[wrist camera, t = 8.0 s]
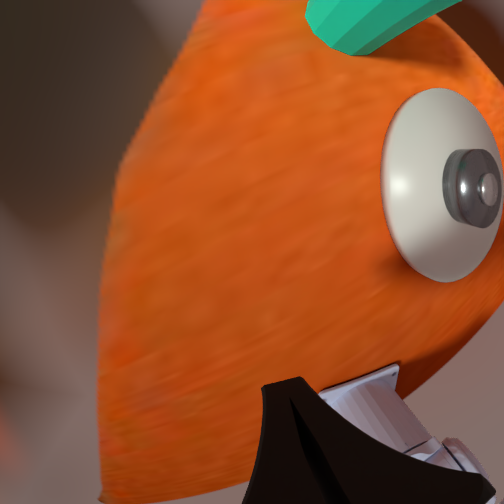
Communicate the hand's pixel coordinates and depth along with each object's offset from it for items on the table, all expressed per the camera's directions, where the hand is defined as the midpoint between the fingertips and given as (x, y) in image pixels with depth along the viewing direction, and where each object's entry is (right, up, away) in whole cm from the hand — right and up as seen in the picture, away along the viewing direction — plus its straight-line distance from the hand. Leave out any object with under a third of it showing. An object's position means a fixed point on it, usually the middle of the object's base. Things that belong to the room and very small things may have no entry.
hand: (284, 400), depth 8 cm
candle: (+5, +21, +5) cm, 23 cm away
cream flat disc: (+15, +11, +9) cm, 21 cm away
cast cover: (+16, +10, +8) cm, 21 cm away
